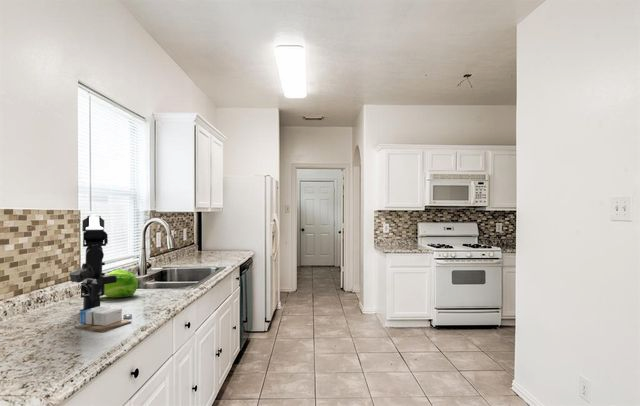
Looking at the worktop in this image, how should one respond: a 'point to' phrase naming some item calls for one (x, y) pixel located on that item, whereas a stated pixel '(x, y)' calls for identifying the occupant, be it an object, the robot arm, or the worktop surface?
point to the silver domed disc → (127, 316)
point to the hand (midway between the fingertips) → (93, 300)
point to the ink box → (101, 316)
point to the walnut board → (102, 328)
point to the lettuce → (121, 284)
